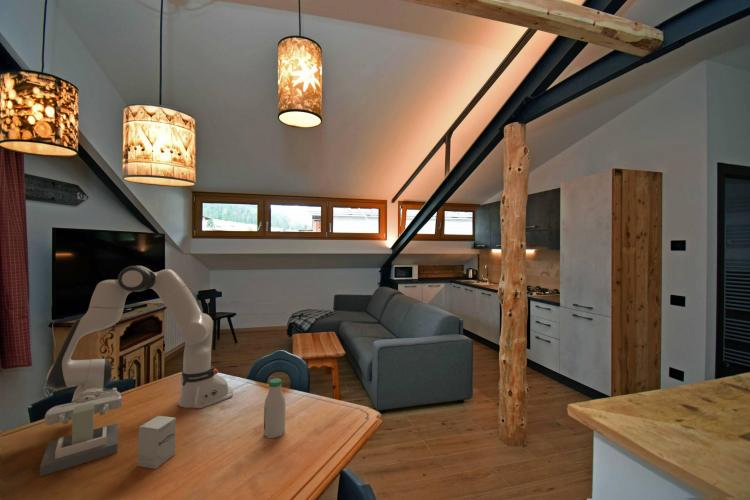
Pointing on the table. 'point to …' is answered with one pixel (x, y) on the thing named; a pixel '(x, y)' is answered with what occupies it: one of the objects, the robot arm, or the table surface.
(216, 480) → the table surface
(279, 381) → the milk bottle
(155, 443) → the supplement box
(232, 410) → the table surface
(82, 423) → the pale green footed pillar
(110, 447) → the dock
